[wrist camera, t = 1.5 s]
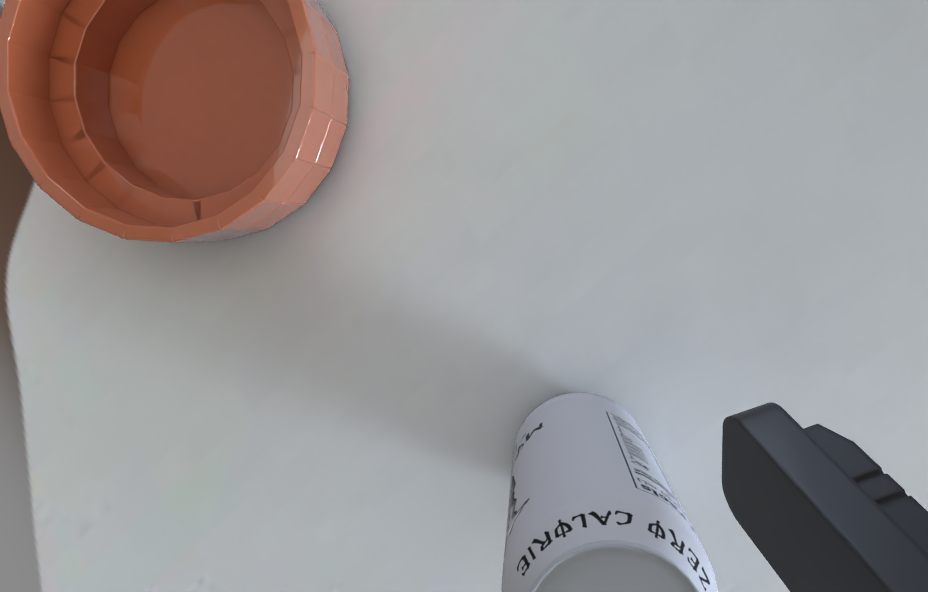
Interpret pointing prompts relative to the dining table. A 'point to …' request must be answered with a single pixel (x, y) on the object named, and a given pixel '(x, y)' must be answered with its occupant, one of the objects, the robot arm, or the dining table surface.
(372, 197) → the dining table surface
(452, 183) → the dining table surface
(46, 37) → the bowl
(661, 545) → the energy drink can
